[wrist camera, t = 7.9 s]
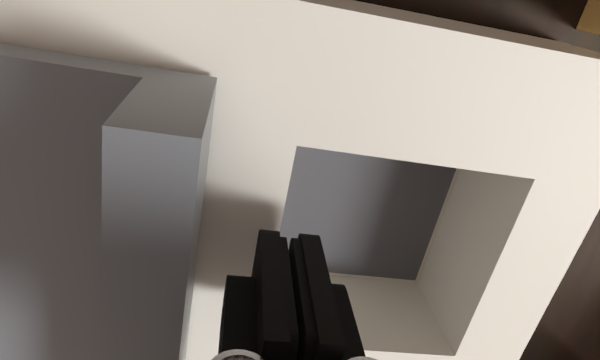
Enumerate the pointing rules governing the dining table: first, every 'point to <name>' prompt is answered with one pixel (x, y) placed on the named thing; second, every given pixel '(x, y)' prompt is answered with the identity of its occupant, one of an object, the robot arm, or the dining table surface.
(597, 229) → the dining table surface
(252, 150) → the socket
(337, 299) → the robot arm
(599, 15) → the plug
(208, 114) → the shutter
